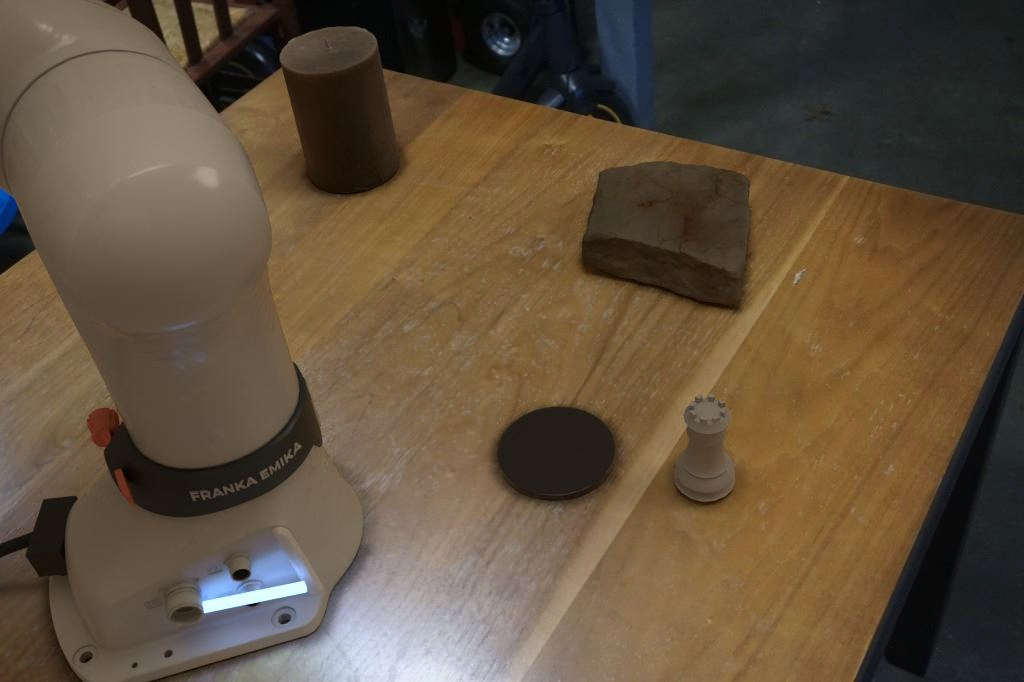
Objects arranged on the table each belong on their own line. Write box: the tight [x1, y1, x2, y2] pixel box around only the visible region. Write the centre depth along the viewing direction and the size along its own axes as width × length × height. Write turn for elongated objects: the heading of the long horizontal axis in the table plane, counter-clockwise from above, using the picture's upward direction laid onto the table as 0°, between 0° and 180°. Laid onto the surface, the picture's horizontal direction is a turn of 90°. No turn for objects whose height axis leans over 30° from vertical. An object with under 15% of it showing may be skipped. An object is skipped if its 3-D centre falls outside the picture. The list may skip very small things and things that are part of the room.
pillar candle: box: [279, 26, 401, 194], centre depth 110 cm, size 10×10×15 cm
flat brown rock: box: [581, 160, 753, 306], centre depth 100 cm, size 17×15×4 cm
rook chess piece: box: [673, 393, 736, 503], centre depth 78 cm, size 4×4×8 cm
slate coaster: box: [497, 406, 617, 501], centre depth 84 cm, size 9×9×1 cm
